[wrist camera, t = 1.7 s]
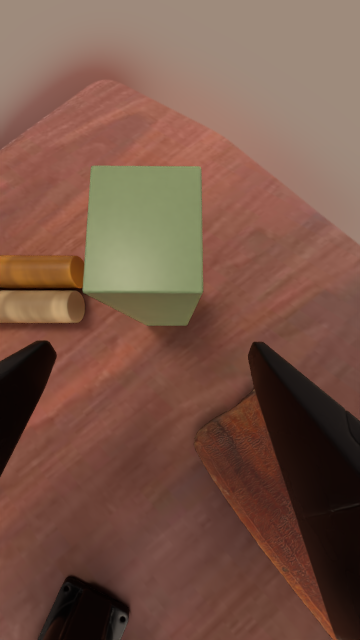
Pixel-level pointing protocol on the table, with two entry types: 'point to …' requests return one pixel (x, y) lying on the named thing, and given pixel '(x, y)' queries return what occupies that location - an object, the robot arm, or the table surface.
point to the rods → (41, 275)
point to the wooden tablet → (260, 494)
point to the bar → (145, 241)
